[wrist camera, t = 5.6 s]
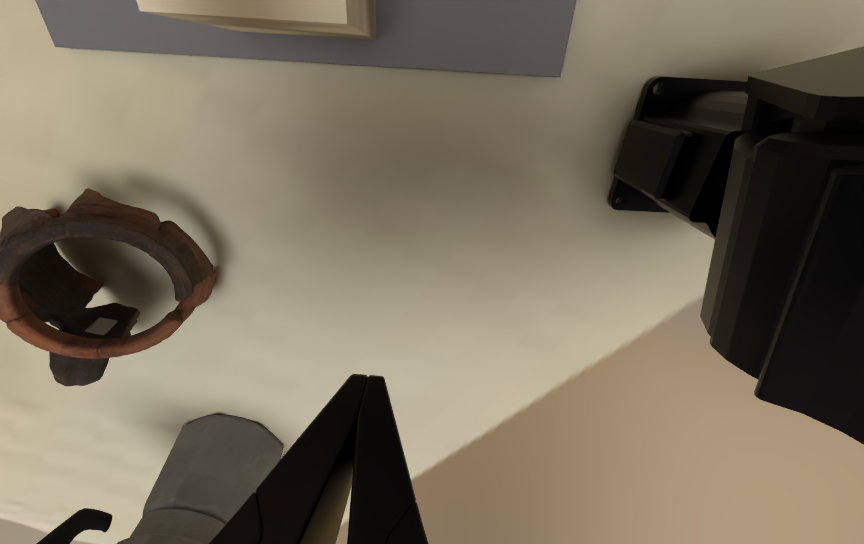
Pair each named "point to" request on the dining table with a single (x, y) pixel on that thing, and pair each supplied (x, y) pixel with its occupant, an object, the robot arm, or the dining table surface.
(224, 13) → the plain block
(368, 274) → the dining table surface
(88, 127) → the dining table surface
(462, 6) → the charcoal mat
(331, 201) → the dining table surface
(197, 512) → the coffeepot
